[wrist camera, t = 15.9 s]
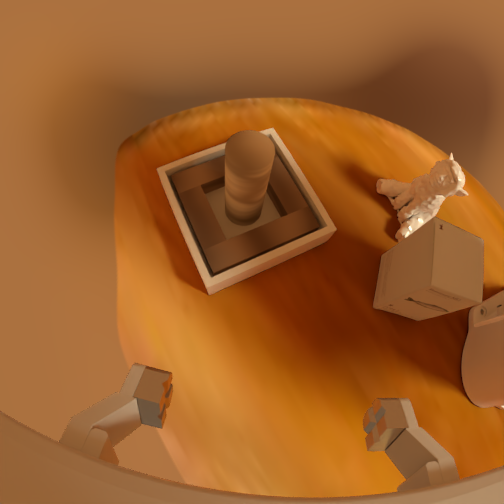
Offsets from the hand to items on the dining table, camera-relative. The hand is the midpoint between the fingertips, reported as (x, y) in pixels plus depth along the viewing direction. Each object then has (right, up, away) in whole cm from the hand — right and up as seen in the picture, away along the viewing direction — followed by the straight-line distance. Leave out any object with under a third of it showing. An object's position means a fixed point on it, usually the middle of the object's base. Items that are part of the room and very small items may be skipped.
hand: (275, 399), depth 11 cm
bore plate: (-2, +11, +27) cm, 29 cm away
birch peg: (-2, +11, +27) cm, 29 cm away
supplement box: (+18, +1, +26) cm, 32 cm away
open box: (-2, +11, +28) cm, 30 cm away
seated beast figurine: (+21, +12, +30) cm, 39 cm away
